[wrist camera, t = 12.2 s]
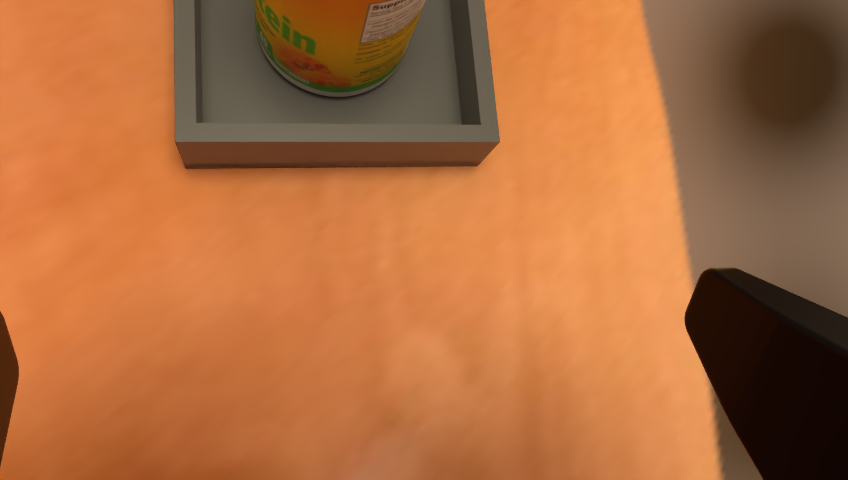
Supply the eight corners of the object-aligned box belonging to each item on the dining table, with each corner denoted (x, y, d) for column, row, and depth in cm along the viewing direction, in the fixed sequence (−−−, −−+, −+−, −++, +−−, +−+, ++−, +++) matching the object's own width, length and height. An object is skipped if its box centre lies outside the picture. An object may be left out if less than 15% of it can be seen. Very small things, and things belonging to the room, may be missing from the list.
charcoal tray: (477, 165, 24) (499, 141, 22) (185, 168, 22) (175, 141, 19) (451, -78, 26) (470, -124, 24) (182, -100, 24) (172, -154, 21)
